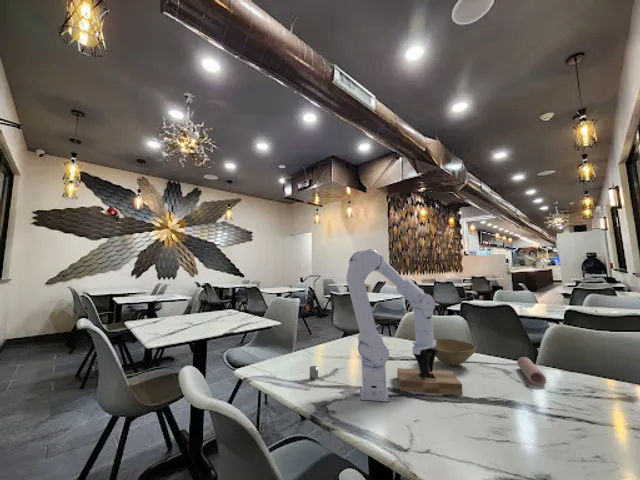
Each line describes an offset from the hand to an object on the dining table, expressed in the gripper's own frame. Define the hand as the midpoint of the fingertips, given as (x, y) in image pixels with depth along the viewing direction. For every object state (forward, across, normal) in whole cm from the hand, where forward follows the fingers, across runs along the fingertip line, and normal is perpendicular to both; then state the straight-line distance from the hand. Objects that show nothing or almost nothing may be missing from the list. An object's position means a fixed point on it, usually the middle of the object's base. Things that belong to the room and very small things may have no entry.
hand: (426, 372), depth 92 cm
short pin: (+4, +20, -32) cm, 38 cm away
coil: (+4, -30, +24) cm, 39 cm away
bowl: (+4, -26, -1) cm, 27 cm away
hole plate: (+4, 0, 0) cm, 4 cm away
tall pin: (+2, 0, 0) cm, 3 cm away
